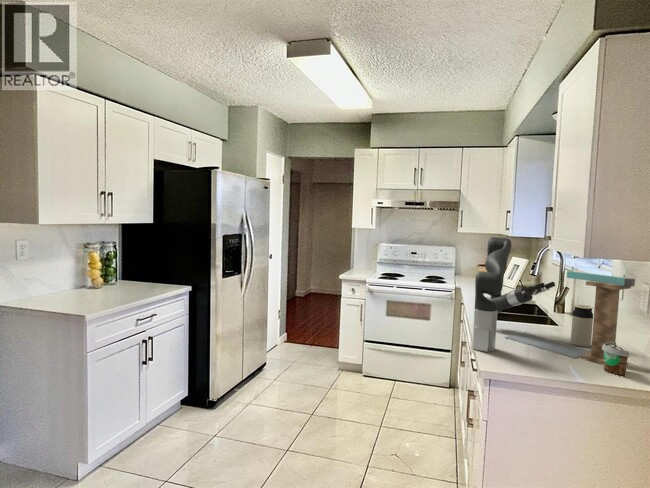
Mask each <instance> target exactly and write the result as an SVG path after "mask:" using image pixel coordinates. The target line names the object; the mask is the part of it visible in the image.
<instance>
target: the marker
mask: <svg viewBox="0 0 650 488" xmlns="http://www.w3.org/2000/svg"><path fill="white" fill-rule="evenodd" d="M566 278H568V279H573V280H583V281H595V282H602V283H609V284H616V285H624V286H631V288H632V287H635V285H636V278H632V277H624V276H623V277H622V276H614V275H605V274H598V273H597V274H596V273H588V272H582V271H573V270H567V271H566Z"/></svg>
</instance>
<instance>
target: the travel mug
mask: <svg viewBox="0 0 650 488" xmlns="http://www.w3.org/2000/svg"><path fill="white" fill-rule="evenodd" d="M573 306H574V310H573V311H572V318H571V333H570V344H572V345H574V346H576V347H580V348H582V347H583V348H589V347H591V346H592V333H593V320H594V312H593V310H594V307H593V306H591V305H587V304H580V303H579V304H573Z"/></svg>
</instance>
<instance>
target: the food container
mask: <svg viewBox="0 0 650 488" xmlns="http://www.w3.org/2000/svg"><path fill="white" fill-rule="evenodd" d="M602 350H604V365H603V370H605V371H604V372H605V373H608V374H610V373H611V375H613V374H614V376H616V375H618V376H617V377H621V376H623V378H626V375H627V372H626V371H627V365H628V358H629V355H630V354H629V351H628V350H625V349H624V348H622V347H621V346H618V345H617V342H616V341H615V342H605V343H604V344H603V346H602Z"/></svg>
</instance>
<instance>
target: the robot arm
mask: <svg viewBox="0 0 650 488" xmlns="http://www.w3.org/2000/svg"><path fill="white" fill-rule="evenodd" d="M511 250H512V240H510V238H507V237H500V236H499V237H496V236H495V237H494V236H492V237H491V236H490V237H489V239H488V241H487V250H486V251H487V253H486V254H487V255H486V259H485V262H484V268H485V270H486V272H485V271H478V272H477V273H476V274H475V280H474V282H475V283H474V286H475V287H474V288H475V289H474V290H475V292H474V293H475V294H474V310H473V311H474V312H473V313H474V314H473V325H472V326H473V327H472V329H473V330H472V345H471V347H472V349H473V350H477V351H482V352H485V353H489V352H495V350H496V337H497V323H498V314H501V312H502V311H503V310H507V309H510V308H514V307H515V306H517V307H518V306H520V305H523V304H525V303H527V302H531V301H532V300H533V296H537V295H539V294H541V293H545V292H546V291H549V290H550V289H551V288H554V287H556V283H555V282H554V281H551V282H548V283H545V282H541V283H537V284H536V285H535V284H534V285H530V286H526V285H522V286H520V287H517V288H515V289H512V290H511V291H509V292H507V293H505V294H502V290H503V287H504V286H503V285H504V278H505V273H506V268H507V266H508V260H509V256H510V253H511ZM485 294H487V295H489V296H490V298H487V296H485Z"/></svg>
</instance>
